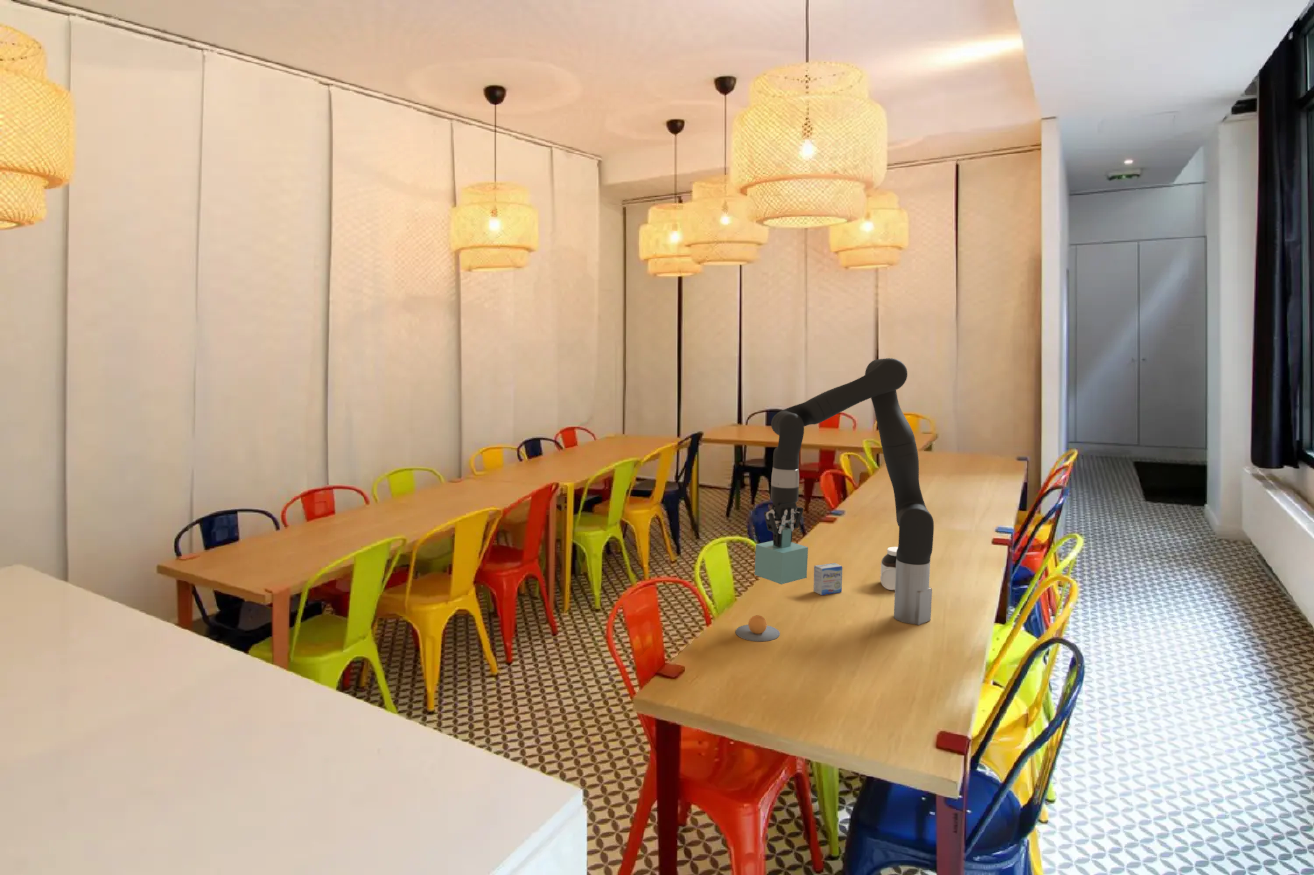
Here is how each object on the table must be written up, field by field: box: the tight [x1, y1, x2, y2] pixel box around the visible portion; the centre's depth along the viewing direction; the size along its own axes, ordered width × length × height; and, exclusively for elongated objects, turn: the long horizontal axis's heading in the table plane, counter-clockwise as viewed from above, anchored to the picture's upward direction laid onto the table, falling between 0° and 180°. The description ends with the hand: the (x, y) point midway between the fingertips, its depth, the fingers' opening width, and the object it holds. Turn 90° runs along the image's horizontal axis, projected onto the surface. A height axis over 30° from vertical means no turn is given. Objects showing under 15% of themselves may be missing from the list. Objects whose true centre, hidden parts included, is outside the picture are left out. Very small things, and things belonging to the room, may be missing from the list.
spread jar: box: [879, 546, 898, 591], centre depth 253 cm, size 12×11×12 cm
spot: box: [735, 624, 781, 642], centre depth 214 cm, size 12×12×1 cm
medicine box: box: [813, 562, 843, 596], centre depth 247 cm, size 8×4×9 cm, turn 112°
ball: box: [747, 614, 768, 634], centre depth 213 cm, size 5×5×5 cm
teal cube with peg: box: [754, 526, 809, 585], centre depth 218 cm, size 10×10×14 cm
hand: (782, 544), depth 218 cm, fingers closed on teal cube with peg, 3 cm apart
